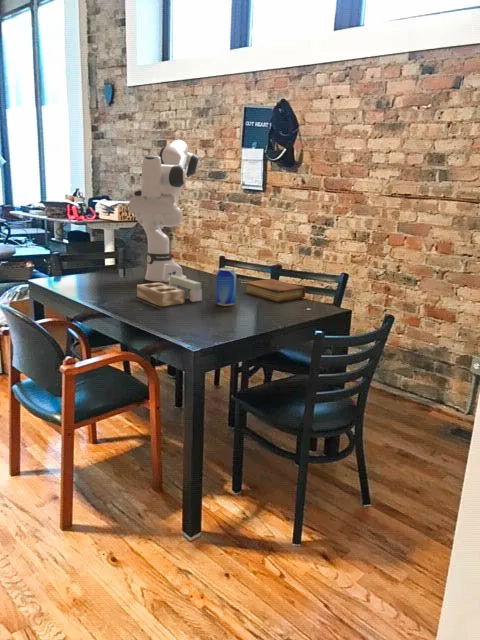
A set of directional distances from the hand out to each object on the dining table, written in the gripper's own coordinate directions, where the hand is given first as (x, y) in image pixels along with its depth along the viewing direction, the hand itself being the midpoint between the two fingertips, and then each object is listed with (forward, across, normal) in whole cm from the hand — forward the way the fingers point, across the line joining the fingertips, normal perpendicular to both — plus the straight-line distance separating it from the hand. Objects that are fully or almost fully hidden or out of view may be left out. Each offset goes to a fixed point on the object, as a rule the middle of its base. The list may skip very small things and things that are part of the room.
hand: (151, 224), depth 241 cm
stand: (+32, -16, +9) cm, 37 cm away
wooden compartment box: (+32, -5, +16) cm, 36 cm away
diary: (+32, -60, 0) cm, 68 cm away
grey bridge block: (+32, -16, +9) cm, 36 cm away
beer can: (+32, -33, +21) cm, 51 cm away
